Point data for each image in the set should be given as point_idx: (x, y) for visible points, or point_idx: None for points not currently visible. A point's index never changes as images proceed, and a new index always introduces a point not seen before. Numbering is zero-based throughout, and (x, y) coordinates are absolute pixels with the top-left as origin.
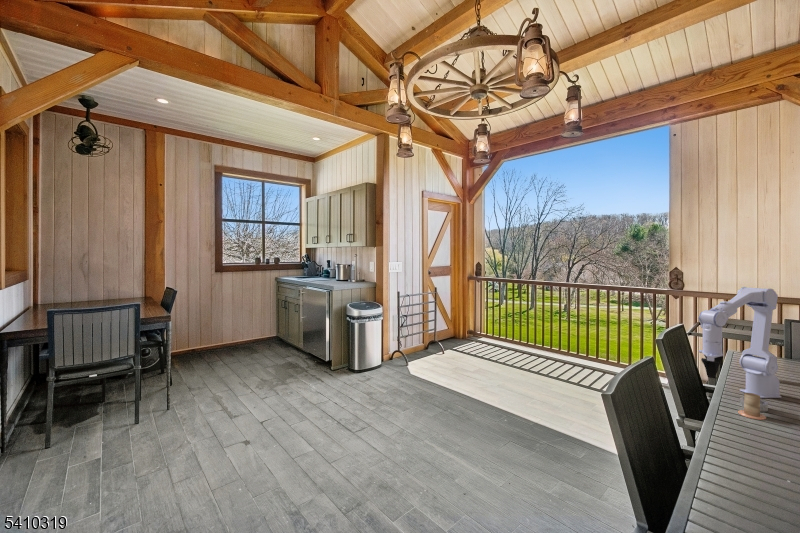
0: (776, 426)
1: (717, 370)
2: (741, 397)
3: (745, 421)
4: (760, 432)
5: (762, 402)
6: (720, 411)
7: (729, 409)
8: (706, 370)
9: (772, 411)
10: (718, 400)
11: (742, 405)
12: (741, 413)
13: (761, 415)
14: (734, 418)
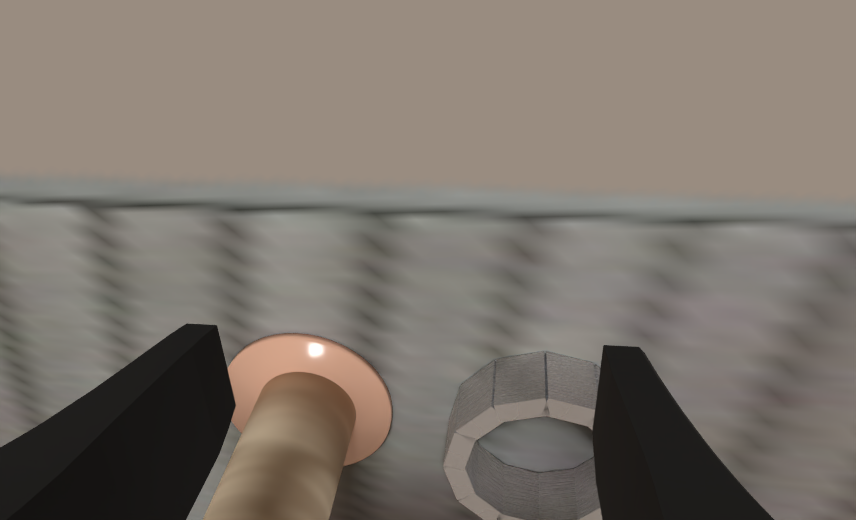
0: (210, 485)
1: (602, 494)
2: (583, 408)
3: (125, 363)
4: (3, 415)
5: (583, 506)
6: (191, 227)
7: (319, 283)
8: (74, 410)
9: None
10: (541, 204)
11: (487, 372)
12: (256, 356)
13: None
14: (117, 310)
